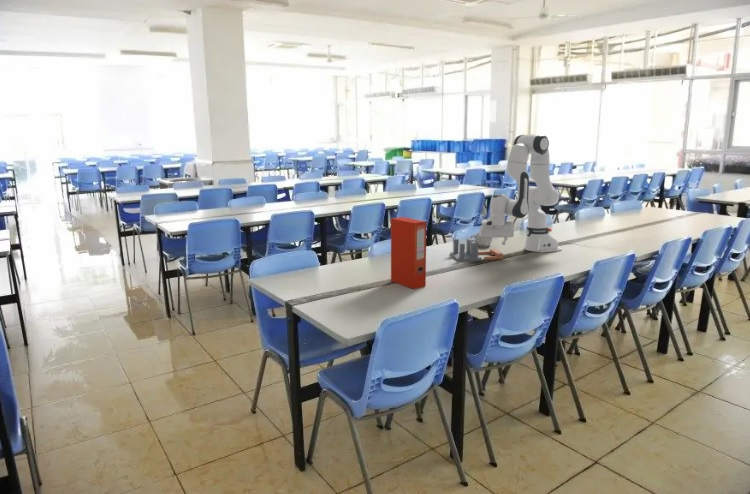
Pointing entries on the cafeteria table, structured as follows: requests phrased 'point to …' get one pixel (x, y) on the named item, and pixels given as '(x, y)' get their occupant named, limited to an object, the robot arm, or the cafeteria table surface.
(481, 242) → the teacup
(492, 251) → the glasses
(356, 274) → the cafeteria table surface
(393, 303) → the cafeteria table surface
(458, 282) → the cafeteria table surface
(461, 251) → the display stand
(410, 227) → the file binder
